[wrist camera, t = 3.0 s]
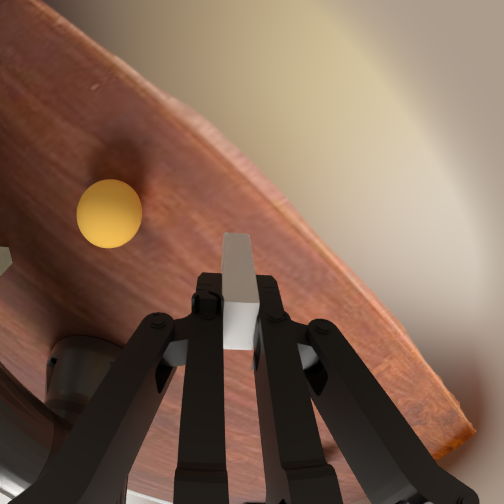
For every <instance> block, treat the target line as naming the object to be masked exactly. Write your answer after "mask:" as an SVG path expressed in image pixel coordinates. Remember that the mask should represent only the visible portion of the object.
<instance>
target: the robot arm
mask: <svg viewBox="0 0 504 504" xmlns="http://www.w3.org/2000/svg"><path fill="white" fill-rule="evenodd" d="M253 344H254V355H253V361H252V366H251V369H254V375H255V385H256V395H257V405H258V415H259V425H260V434H261V444H262V453H263V463H264V472H265V481H266V504H343V501H342V496H341V492H340V488H339V483H338V479H337V475H336V472H335V469H334V468H333V466H332V465H330V464H328V463H327V462H326V460H325V457H324V453H323V448H322V444H321V440H320V436H319V431H318V427H317V423H316V419H315V415H314V410H313V406H312V402H311V399H312V401H313V402H314V404H315V406H316V408H317V409H318V411H319V413H320V415H321V417H322V418H323V420H324V422H325V424H326V426H327V427H328V429H329V431H330V433H331V434H332V436H333V438H334V440H335V441H336V443H337V445H338V447H339V449H340V450H341V452H342V454H343V456H344V457H345V459H346V461H347V463H348V464H349V466H350V468H351V470H352V471H353V473H354V475H355V476H356V478H357V480H358V482H359V483H360V485H361V487H362V489H363V490H364V492H365V494H366V495H367V497H368V499H369V500H370V502H371V503H372V504H479V498H478V495H477V494H476V493H475V491H473V490H472V489H471V488H469V487H468V486H467V485H465V484H464V483H462V482H461V481H459V480H458V479H456V478H455V477H454V476H452V475H451V474H449V473H448V472H447V471H445V470H444V469H442V468H441V467H439V466H438V465H437V463H436V462H435V460H434V459H433V457H432V456H431V455H430V453H429V452H428V450H427V449H426V448H425V446H424V445H423V443H422V442H421V440H420V439H419V438H418V436H417V435H416V433H415V432H414V431H413V429H412V428H411V427H410V425H409V424H408V422H407V421H406V420H405V418H404V417H403V415H402V414H401V413H400V411H399V410H398V409H397V407H396V406H395V404H394V403H393V402H392V400H391V399H390V398H389V396H388V395H387V394H386V392H385V391H384V389H383V388H382V387H381V385H380V384H379V383H378V381H377V380H376V379H375V377H374V376H373V375H372V373H371V372H370V371H369V369H368V368H367V366H366V365H365V364H364V362H363V361H362V360H361V358H360V357H359V356H358V354H357V353H356V352H355V350H354V349H353V348H352V346H351V345H350V344H349V342H348V341H347V340H346V338H345V337H344V336H343V335H342V333H341V332H340V331H339V329H338V328H337V327H336V325H334V324H333V323H332V322H330V321H328V320H325V319H314V320H312V321H311V322H310V323H309V324H308V325H304V324H300V323H297V322H294V321H292V320H291V318H290V316H289V314H288V313H286V312H285V311H284V308H283V304H282V300H281V296H280V292H279V289H278V284H277V281H276V280H275V279H274V278H273V277H272V276H269V275H255V268H254V261H253V255H252V248H251V242H250V235H249V234H241V233H227V232H224V235H223V248H222V262H221V273H205V272H203V273H202V274H201V275H200V276H199V277H198V280H197V287H196V293H194V294H193V296H192V313H191V314H190V315H188V316H187V317H184V318H181V319H175V320H173V318H172V317H171V316H170V315H168V314H165V313H160V312H157V313H152V314H149V315H147V316H146V317H145V318H144V319H143V320H142V322H141V323H140V325H139V326H138V328H137V329H136V331H135V332H134V333H133V335H132V336H131V338H130V339H129V341H128V342H127V344H126V345H125V347H124V348H123V349H122V348H120V347H118V346H116V345H114V344H112V343H110V342H107V341H104V340H101V339H98V338H94V337H88V336H70V337H66V338H63V339H61V340H60V341H58V342H57V343H56V344H55V346H54V347H53V349H52V351H51V354H50V356H49V358H48V361H47V367H46V384H45V401H44V404H43V403H42V402H41V401H40V400H39V399H38V398H37V397H36V396H34V395H33V394H32V393H31V392H30V391H29V390H28V389H27V388H26V387H25V386H24V385H23V384H22V383H21V382H20V381H19V380H18V379H17V378H16V377H15V376H14V375H13V374H12V373H11V372H10V371H9V370H8V369H7V368H6V367H5V366H4V365H3V364H2V363H1V362H0V492H1V493H2V494H4V495H6V496H8V497H10V498H11V499H12V500H11V501H10V502H9V503H8V504H126V493H127V483H128V474H129V472H130V470H131V467H132V465H133V463H134V461H135V458H136V456H137V454H138V452H139V449H140V447H141V445H142V443H143V441H144V438H145V436H146V434H147V432H148V430H149V427H150V425H151V423H152V421H153V419H154V416H155V414H156V412H157V410H158V408H159V406H160V403H161V401H162V399H163V397H164V395H165V393H166V390H167V388H168V386H169V384H170V382H171V380H172V378H173V375H174V373H175V371H176V369H177V366H180V365H185V364H186V366H185V376H184V386H183V397H182V408H181V420H180V433H179V447H178V463H177V468H176V470H175V478H174V498H173V504H229V493H228V475H227V470H226V450H225V416H224V360H223V349H235V350H252V349H253ZM310 397H311V398H310Z"/></svg>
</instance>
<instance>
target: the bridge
mask: <svg viewBox="0 0 504 504" xmlns="http://www.w3.org/2000/svg"><path fill="white" fill-rule="evenodd" d="M12 263H13V262H12V258H11V254H10V250H9V247H0V276H1V275H2V274H3V273H4V272H5V271H6V270H7V269H8V268H9V267H10V266H11V264H12Z"/></svg>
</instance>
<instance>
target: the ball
mask: <svg viewBox="0 0 504 504" xmlns="http://www.w3.org/2000/svg"><path fill="white" fill-rule="evenodd" d="M141 220H142V206H141V202H140V199H139V197H138V195H137V193H136V192H135V191H134V190H133V188H131V187H130V186H129V185H128V184H126V183H124V182H122V181H119V180H115V179H106V180H101V181H99V182H96V183H95V184H93V185H91V186H90V187H89V188H88V189H87V190H86V191H85V192H84V193H83V195H82V197H81V198H80V200H79V203H78V207H77V223H78V226H79V229H80V231H81V232H82V234H83V235H84V237H85V238H86V239H87V240H88V241H89V242H91V243H92V244H94V245H96V246H99V247H102V248H115V247H119V246H121V245H123V244H125V243H127V242H128V241H129V240H130V239H132V237H133V236H134V235H135V234H136V232H137V231H138V229H139V226H140V224H141Z"/></svg>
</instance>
